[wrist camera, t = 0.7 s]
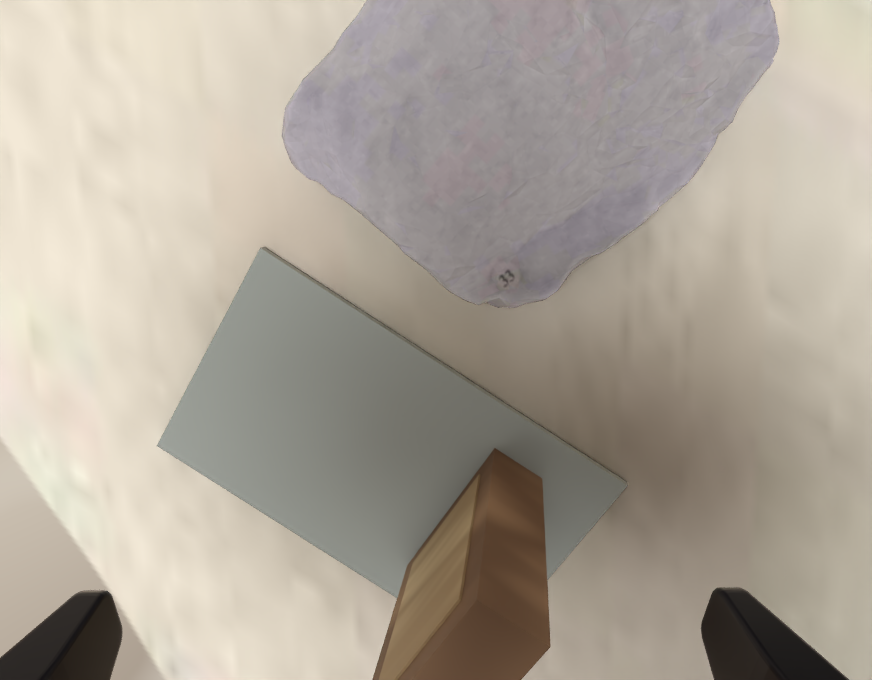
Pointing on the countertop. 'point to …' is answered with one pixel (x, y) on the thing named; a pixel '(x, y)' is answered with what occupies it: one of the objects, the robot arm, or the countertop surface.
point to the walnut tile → (476, 586)
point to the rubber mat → (359, 429)
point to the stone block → (522, 125)
